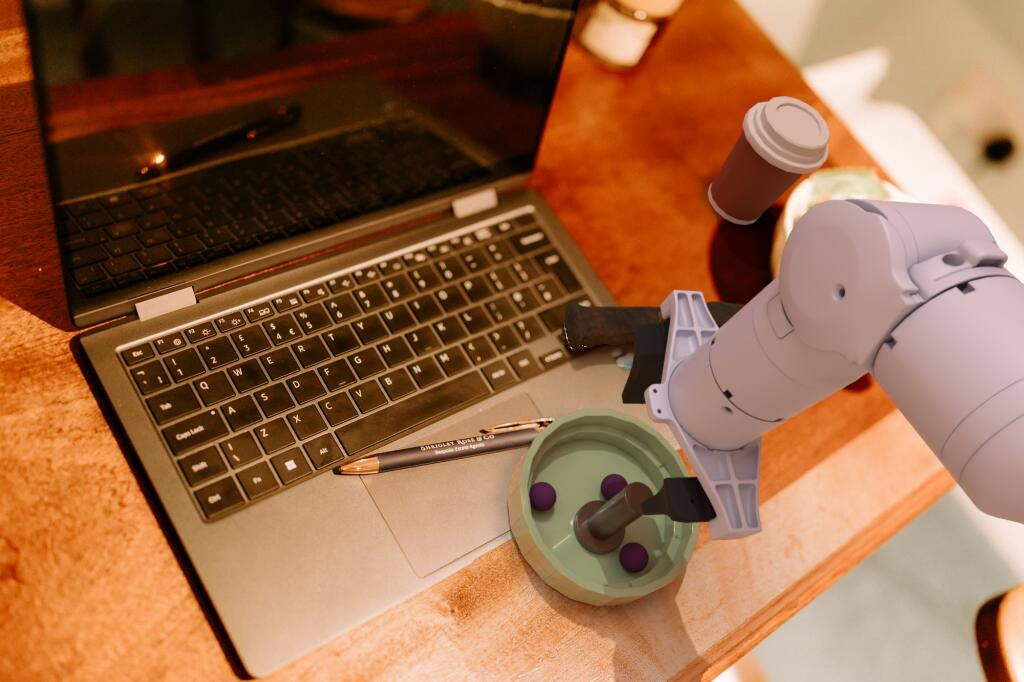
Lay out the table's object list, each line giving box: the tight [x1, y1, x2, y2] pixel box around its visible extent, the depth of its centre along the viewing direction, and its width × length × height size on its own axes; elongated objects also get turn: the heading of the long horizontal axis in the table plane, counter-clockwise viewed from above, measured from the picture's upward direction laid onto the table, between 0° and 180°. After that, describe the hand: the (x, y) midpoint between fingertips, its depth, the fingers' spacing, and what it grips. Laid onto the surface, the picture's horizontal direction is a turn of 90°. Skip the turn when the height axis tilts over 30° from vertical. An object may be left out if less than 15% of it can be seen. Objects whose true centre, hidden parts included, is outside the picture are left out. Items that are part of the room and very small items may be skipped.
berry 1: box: [529, 482, 557, 512], centre depth 53 cm, size 2×2×2 cm
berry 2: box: [601, 474, 628, 501], centre depth 55 cm, size 2×2×2 cm
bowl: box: [507, 408, 701, 607], centre depth 54 cm, size 14×14×4 cm
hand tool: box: [561, 300, 746, 351], centre depth 64 cm, size 19×4×5 cm, turn 97°
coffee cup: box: [707, 95, 831, 226], centre depth 73 cm, size 9×9×12 cm
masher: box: [573, 482, 654, 554], centre depth 51 cm, size 4×4×8 cm
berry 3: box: [619, 542, 649, 573], centre depth 53 cm, size 2×2×2 cm
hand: (645, 452), depth 47 cm, fingers open, 7 cm apart
